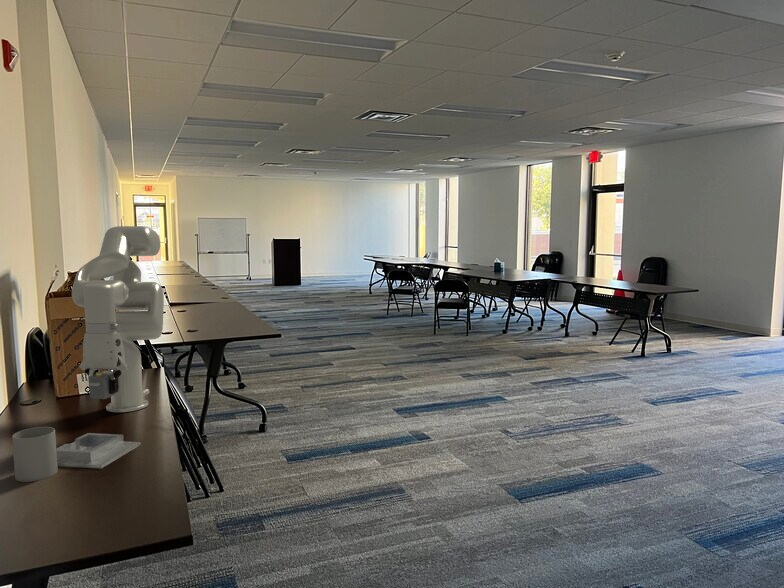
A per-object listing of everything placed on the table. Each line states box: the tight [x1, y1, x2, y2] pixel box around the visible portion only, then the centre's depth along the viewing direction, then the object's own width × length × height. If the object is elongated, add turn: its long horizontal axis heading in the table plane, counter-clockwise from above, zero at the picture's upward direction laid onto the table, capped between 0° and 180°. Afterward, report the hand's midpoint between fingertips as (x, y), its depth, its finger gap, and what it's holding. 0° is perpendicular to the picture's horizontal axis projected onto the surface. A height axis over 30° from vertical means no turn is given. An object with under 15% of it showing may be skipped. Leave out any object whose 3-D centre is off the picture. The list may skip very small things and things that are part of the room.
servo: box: [88, 370, 121, 400], centre depth 160 cm, size 9×4×7 cm, turn 171°
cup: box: [11, 426, 59, 483], centre depth 133 cm, size 8×8×10 cm
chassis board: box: [56, 432, 142, 469], centre depth 146 cm, size 16×18×3 cm
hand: (105, 391), depth 160 cm, fingers closed on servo, 4 cm apart
